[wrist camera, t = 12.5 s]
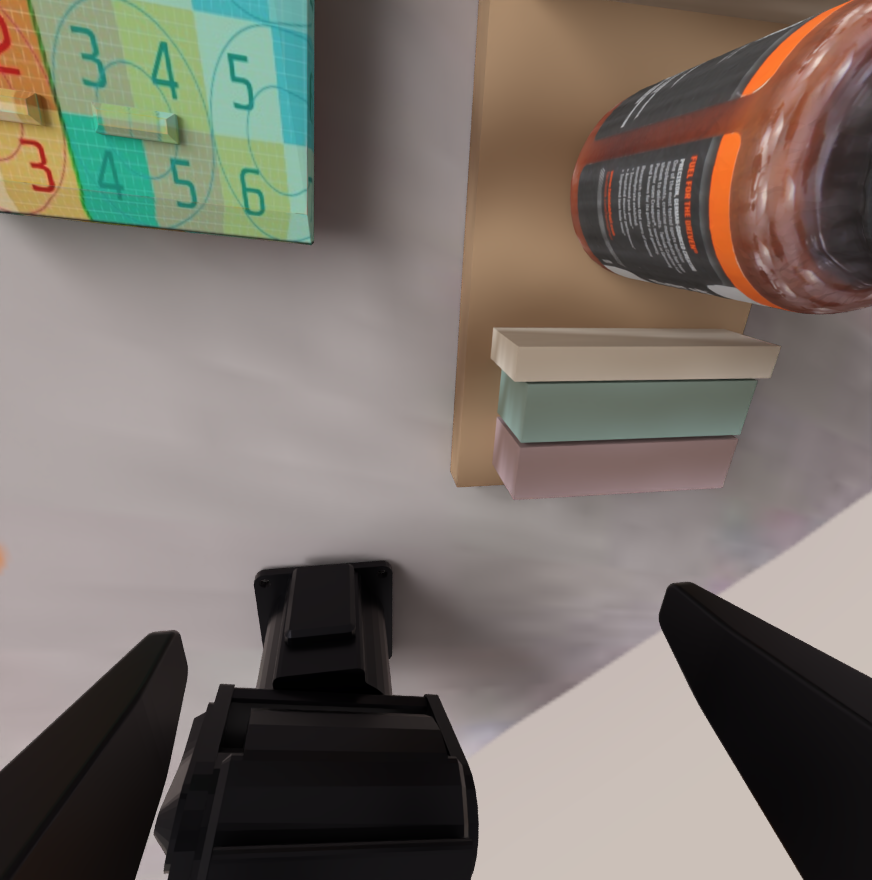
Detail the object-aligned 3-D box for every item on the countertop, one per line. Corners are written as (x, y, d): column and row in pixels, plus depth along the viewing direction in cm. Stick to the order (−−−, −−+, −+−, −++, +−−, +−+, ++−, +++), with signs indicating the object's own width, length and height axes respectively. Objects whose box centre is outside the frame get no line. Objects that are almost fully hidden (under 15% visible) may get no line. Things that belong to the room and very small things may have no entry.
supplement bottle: (623, 309, 19) (936, 416, 9) (529, 189, 17) (813, 151, 7) (746, 188, 18) (1265, 156, 8) (665, 41, 16) (1262, -281, 5)
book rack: (680, 460, 25) (746, 508, 21) (450, 470, 23) (473, 526, 19) (879, -244, 15) (1081, -416, 11) (499, -340, 13) (572, -599, 9)
